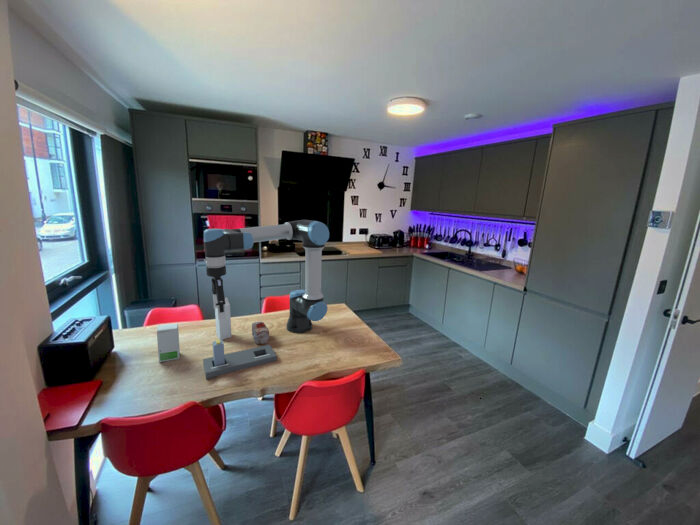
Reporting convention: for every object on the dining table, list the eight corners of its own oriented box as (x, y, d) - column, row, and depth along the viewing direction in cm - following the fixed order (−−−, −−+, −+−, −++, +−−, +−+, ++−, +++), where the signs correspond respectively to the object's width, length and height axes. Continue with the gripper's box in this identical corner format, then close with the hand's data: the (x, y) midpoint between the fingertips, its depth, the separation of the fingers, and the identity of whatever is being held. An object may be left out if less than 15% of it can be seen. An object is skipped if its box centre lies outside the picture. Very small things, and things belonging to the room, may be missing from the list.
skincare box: (158, 362, 130) (155, 331, 127) (160, 355, 136) (157, 325, 132) (180, 358, 134) (177, 328, 130) (180, 352, 139) (178, 322, 136)
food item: (271, 344, 151) (271, 326, 149) (256, 347, 147) (255, 329, 145) (264, 333, 162) (263, 317, 160) (249, 336, 158) (249, 320, 156)
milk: (231, 337, 156) (230, 299, 152) (220, 340, 152) (218, 301, 148) (227, 333, 161) (225, 295, 156) (216, 336, 157) (214, 298, 152)
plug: (223, 363, 130) (222, 338, 128) (225, 368, 127) (223, 342, 124) (214, 366, 128) (212, 340, 125) (215, 370, 125) (213, 344, 122)
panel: (269, 349, 145) (269, 344, 144) (276, 361, 135) (276, 355, 134) (203, 365, 130) (203, 358, 129) (206, 379, 120) (205, 372, 119)
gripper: (202, 260, 128) (206, 305, 133) (209, 273, 108) (213, 325, 112) (221, 259, 132) (224, 302, 137) (231, 271, 112) (234, 322, 116)
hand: (219, 313), depth 125 cm, fingers open, 13 cm apart
